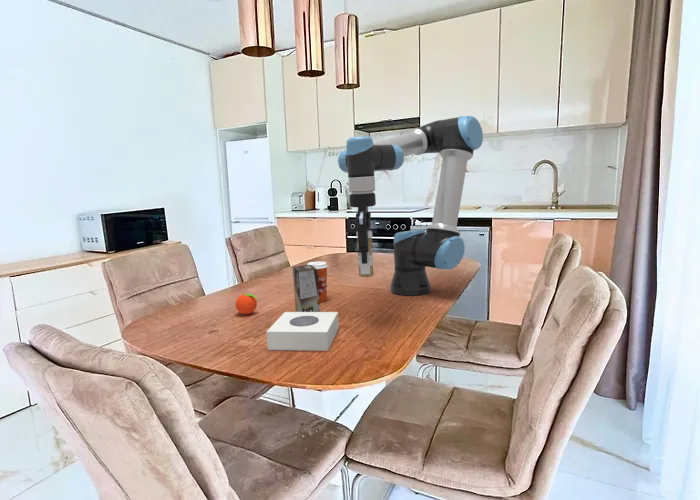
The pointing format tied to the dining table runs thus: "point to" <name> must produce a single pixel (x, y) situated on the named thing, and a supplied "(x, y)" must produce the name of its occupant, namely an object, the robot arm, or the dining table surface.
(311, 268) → the coffee box
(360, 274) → the sprinkles bottle
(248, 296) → the clementine
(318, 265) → the paper cup
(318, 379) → the dining table surface
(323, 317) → the plinth
